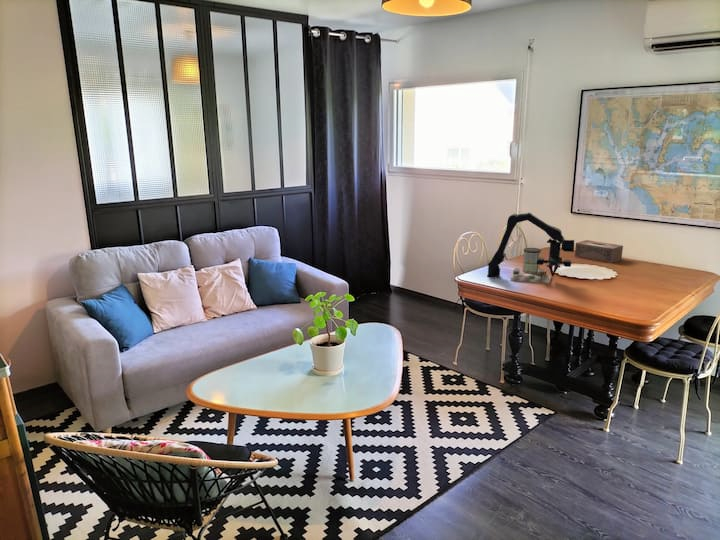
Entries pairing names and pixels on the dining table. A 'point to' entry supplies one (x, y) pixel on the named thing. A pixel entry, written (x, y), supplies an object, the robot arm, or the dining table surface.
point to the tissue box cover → (599, 251)
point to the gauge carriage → (540, 272)
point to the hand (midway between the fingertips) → (552, 276)
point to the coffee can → (531, 260)
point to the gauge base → (529, 277)
